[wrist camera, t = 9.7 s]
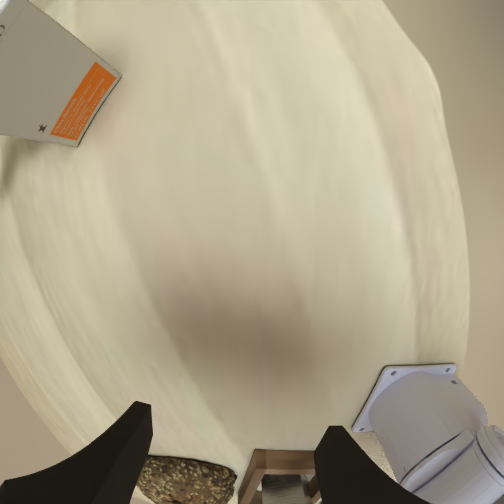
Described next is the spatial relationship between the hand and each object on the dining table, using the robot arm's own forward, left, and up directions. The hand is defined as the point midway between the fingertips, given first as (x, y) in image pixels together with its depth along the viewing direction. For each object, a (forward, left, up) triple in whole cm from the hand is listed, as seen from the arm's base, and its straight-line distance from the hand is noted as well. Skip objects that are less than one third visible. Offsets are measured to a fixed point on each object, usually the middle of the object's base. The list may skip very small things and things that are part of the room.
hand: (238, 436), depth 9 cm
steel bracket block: (-8, +19, -10) cm, 23 cm away
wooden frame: (-8, +19, -9) cm, 23 cm away
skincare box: (+14, -14, -10) cm, 22 cm away
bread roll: (+3, +23, -10) cm, 26 cm away
